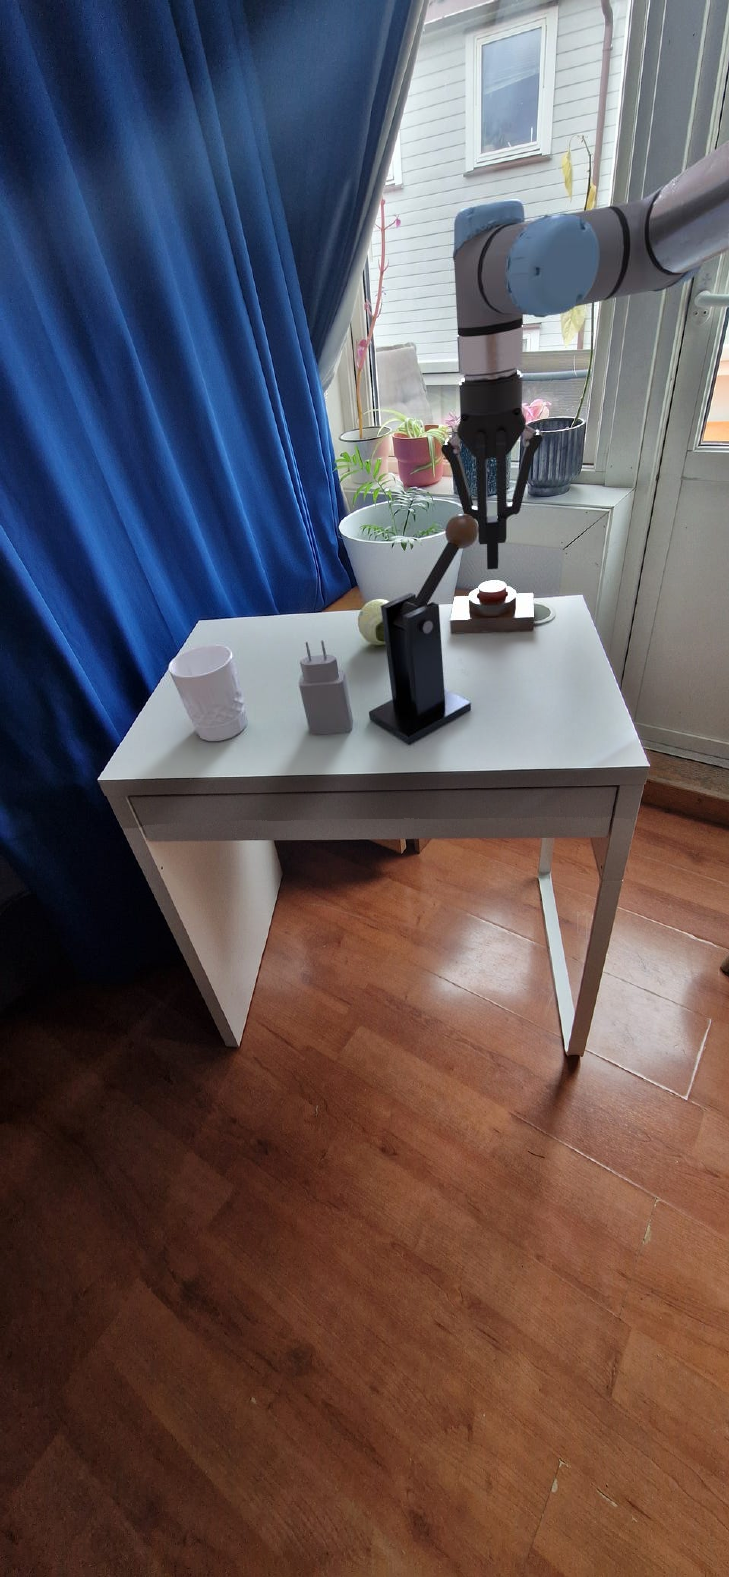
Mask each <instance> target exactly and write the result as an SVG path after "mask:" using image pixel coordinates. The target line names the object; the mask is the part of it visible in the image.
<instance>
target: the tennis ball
mask: <svg viewBox="0 0 729 1577" xmlns="http://www.w3.org/2000/svg"><path fill="white" fill-rule="evenodd" d="M388 602H390V601H389V600H387V599H383V598H375V599H372V600H370V601H368V602H367V603H365V604H364V605H363V606H362V608H361V610H360V612H359V614H358V616H357V628H358V631H359V633H360V634H361V636H362V638H363V639H364V640H365V641H367V642H368V643H370V644H371V645H374V646H375V647H377V646H385V645H386V644H385V636H384V628H383V620H382V612H381V606H382V605H384V604H386V603H388Z"/></svg>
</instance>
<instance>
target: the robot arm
mask: <svg viewBox="0 0 729 1577" xmlns="http://www.w3.org/2000/svg"><path fill="white" fill-rule="evenodd" d="M453 222H454V223H453V233H454V234H453V240H454V242H453V252H452V261H453V266H454V267H453V268H454V284H455V285H454V287H455V306H456V325H457V336H456V338H457V339H456V340H457V357H458V358H457V361H458V362H457V363H458V364H457V365H458V374H459V375H460V376H463V378H462V379H461V380H460V382H459V383H458V384H459V387H458V388H459V410H460V412H459V413H460V415H459V416H460V417H459V418H460V419H459V422H458V425H457V427H456V428H457V429H456V433H454V435H452V436H451V437H450V438H449V439H445V440H444V441H443V442H442V444H441V448H440V452H441V453H442V455H443V456H444V457H445V459H446V460H447V462H448V464H449V465H450V466H449V467H450V468H451V469H450V470H451V473H452V476H453V480H454V483H455V487H456V490H457V494H458V498H459V501H460V502H459V503H460V504H461V505H460V506H461V508H462V512H463V514H467V515H469V516H471V517H472V518H474V520H475V521H476V523H477V525H478V535H477V539H478V540H477V541H478V543H479V545H480V546H481V545H486V569H487V570H499V562H500V561H499V544H505V543H506V542H507V537H508V536H507V535H508V534H507V532H508V530H507V527H508V526H507V524H508V522H507V520H508V518H510V517H511V516H513V515H518V514H520V511H521V508H522V504H523V500H524V496H525V491H526V488H527V483H528V480H529V475H530V473H531V472H530V471H531V467H532V463H533V459H534V456H535V454H536V452H537V451H538V449H539V447H540V445H542V442H543V432H542V431H541V430H540V429H534V428H532V427H531V426H529V425H527V421H526V417H525V415H524V412H523V374H522V373H521V371H519V370H518V369H519V368H521V367H522V366H523V352H524V351H523V349H524V348H523V346H524V316H525V315H526V316H534V317H535V318H545V317H548V316H556V315H557V316H558V315H561V314H564V313H567V312H570V311H571V310H573V309H574V308H575V307H580V306H583V305H584V306H586V305H588V304H594V303H599V302H602V301H607V300H610V299H616V298H621V297H626V296H631V295H637V294H641V293H646V292H661V291H664V290H666V289H669V288H672V287H675V286H677V285H681V284H684V283H686V282H688V281H690V280H691V279H693V278H694V277H696V275H697V274H698V273H699V271H700V269H701V268H702V266H703V265H704V264H705V263H706V262H709V261H711V260H713V259H715V258H718V257H719V256H721V255H723V254H725V253H728V252H729V139H728V140H726V141H725V142H724V143H722V144H721V145H720V146H718V147H716V148H715V149H714V150H713V151H711V152H710V153H708V154H706V155H705V156H703V157H702V158H701V159H699V160H698V161H697V162H695V163H694V164H692V165H690V166H689V167H688V168H687V169H685V170H683V171H682V172H681V173H679V174H678V175H677V176H675V177H674V178H672V179H671V180H670V181H669V182H667V183H666V184H664V185H662V186H661V187H660V188H658V189H657V190H655V191H654V192H653V193H651V194H649V195H647V196H646V197H644V198H642V199H639V200H636V201H631V202H626V203H620V204H615V205H609V206H604V207H599V208H592V209H586V210H580V211H574V212H569V213H562V212H561V213H560V212H559V213H556V214H551V215H548V214H546V215H544V216H540V217H538V218H535V219H531V220H527V221H526V220H525V207H524V205H523V202H522V201H521V200H520V199H517V198H516V199H515V198H514V199H505V200H501V201H494V202H489V203H484V204H480V205H476V206H470V207H466V208H463V209H461V210H460V211H459V212H457V214H456V216H455V219H454V221H453ZM521 436H522V446H523V447H524V449H523V453H522V455H521V456H522V457H521V460H520V464H519V470H518V473H517V478H516V481H515V486H514V490H513V494H512V498H511V502H509V503H507V502H508V498H507V496H508V495H507V494H508V492H507V487H508V486H507V481H508V478H507V473H508V472H507V470H508V469H507V465H508V464H507V463H508V462H507V460H508V459H507V458H508V455H509V454H510V453H511V451H512V450H513V448H514V447H515V446H516V444H517V442H518V441H519V439H520V437H521ZM461 442H462V444H463V445H464V447H465V448H466V449H467V451H468V452H469V454H470V455H471V456H472V457H473V458H474V459H475V469H476V502H477V504H476V505H477V506H476V505H474V501H473V497H472V494H471V490H470V487H469V483H468V480H467V476H466V473H465V468H464V464H463V461H462V458H461V454H460V453H461V451H462V446H461ZM492 458H493V459H495V460H496V461H495V462H496V464H495V465H496V515H488V511H489V510H488V459H492Z"/></svg>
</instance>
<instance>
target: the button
mask: <svg viewBox="0 0 729 1577" xmlns="http://www.w3.org/2000/svg"><path fill="white" fill-rule="evenodd" d="M506 586H507V584H506V583H505V582H504V581H501V580H488V581H484V582H481V583H480V584H479V585H478V588H479V600H480V601H485V602H497V601H500V600H503V599H505V598H506Z"/></svg>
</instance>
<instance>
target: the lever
mask: <svg viewBox="0 0 729 1577" xmlns="http://www.w3.org/2000/svg"><path fill="white" fill-rule="evenodd" d="M444 534H445V538H446V541H447V543H446V545H445V547H444V548H443V550H442V552H441V554H440V555H439V556H438V559H437V561H436V562H435V564H434V566H433V568H432V569H431V571H430V573H429V575H428V576H427V578H426V580H425V581H424V583H423V584H422V587H421V588H420V590H419V591H418V594H417V595H416V599H415V601H414V602H413V604H410V603H408V602H404V604H403V606H402V608H401V609H400V611H399V613H398V615H397V616H396V618H395V620H394V622H393V624H394V625H395V626H397V627H398V628H400V629H401V630H402V631H404V622H403V616H404V615H406V614H408V613H410V612H412V611H414V610H416V609H419V608H421V607H423V606H425V605H427V604H429V602H430V600H431V598H432V597H433V595H434V593H435V592H436V590H437V588H438V587H439V585H440V583H441V581H442V580H443V578H444V576H445V574H446V572H447V571H448V569H449V567H450V565H451V564H452V562H453V560H454V559H455V557H456V555H457V554H458V552H459V551H460V550H463V549H467V548H469V547H470V546H472V545H473V544H475V542H476V540H477V539H478V522H477V520H475V519H474V518H472V517H471V516H469V515H467V514H464V513H459V514H456V515H454V516H452V517H451V518H450V519H449V520H448V522H447V524H446V526H445V533H444ZM404 632H405V631H404Z"/></svg>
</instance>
